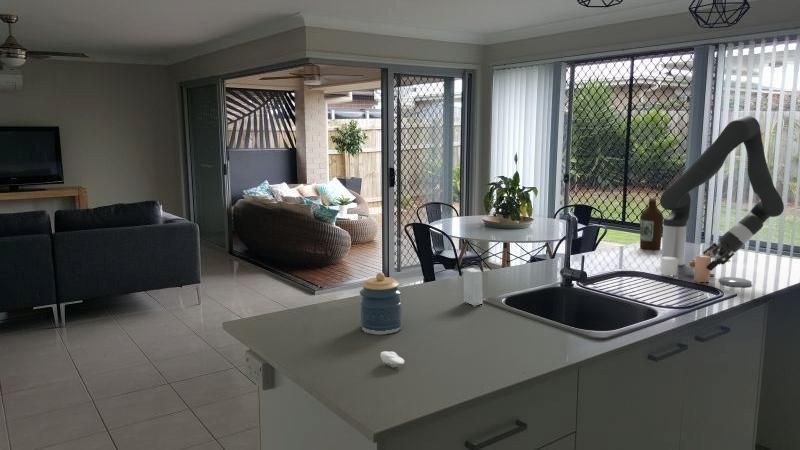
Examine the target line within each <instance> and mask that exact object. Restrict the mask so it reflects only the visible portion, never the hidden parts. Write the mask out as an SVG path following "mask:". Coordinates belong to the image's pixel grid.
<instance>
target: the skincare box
mask: <svg viewBox="0 0 800 450" xmlns="http://www.w3.org/2000/svg"><path fill="white" fill-rule="evenodd" d="M462 275H463V276H462V277H463V301H465V302H467V303H469V304H472V305H478V304H482V303H483V304H484V302H483V301H484V300H483V299H484V298H483V297H484V296H483V295H484V294H483V271H482V270H479V269H477V268H473V267H470V268H465V269H463V270H462ZM465 302H464V303H465ZM467 303H466V304H467ZM469 304H468V305H469Z"/></svg>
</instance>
